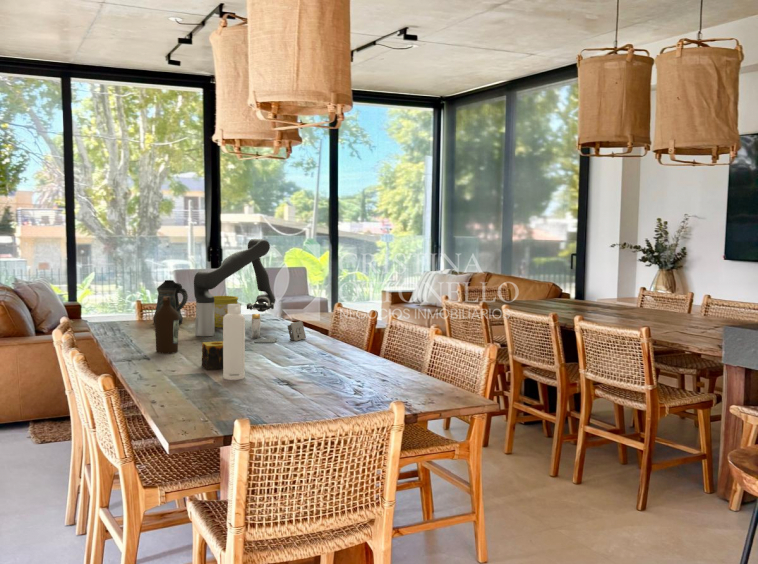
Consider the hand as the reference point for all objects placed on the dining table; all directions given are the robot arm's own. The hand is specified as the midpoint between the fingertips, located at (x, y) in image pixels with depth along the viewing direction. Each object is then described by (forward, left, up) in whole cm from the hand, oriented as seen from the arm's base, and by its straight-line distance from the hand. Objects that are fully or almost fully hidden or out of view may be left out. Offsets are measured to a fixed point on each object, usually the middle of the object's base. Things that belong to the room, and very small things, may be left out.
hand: (259, 307), depth 374 cm
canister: (0, -11, -14) cm, 18 cm away
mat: (+6, -22, -14) cm, 27 cm away
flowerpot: (-24, +30, -14) cm, 41 cm away
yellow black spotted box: (-7, -86, -14) cm, 88 cm away
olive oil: (-35, -52, -14) cm, 65 cm away
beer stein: (-55, +38, -14) cm, 69 cm away
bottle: (+3, -105, -14) cm, 106 cm away
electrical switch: (+21, -16, -14) cm, 30 cm away
